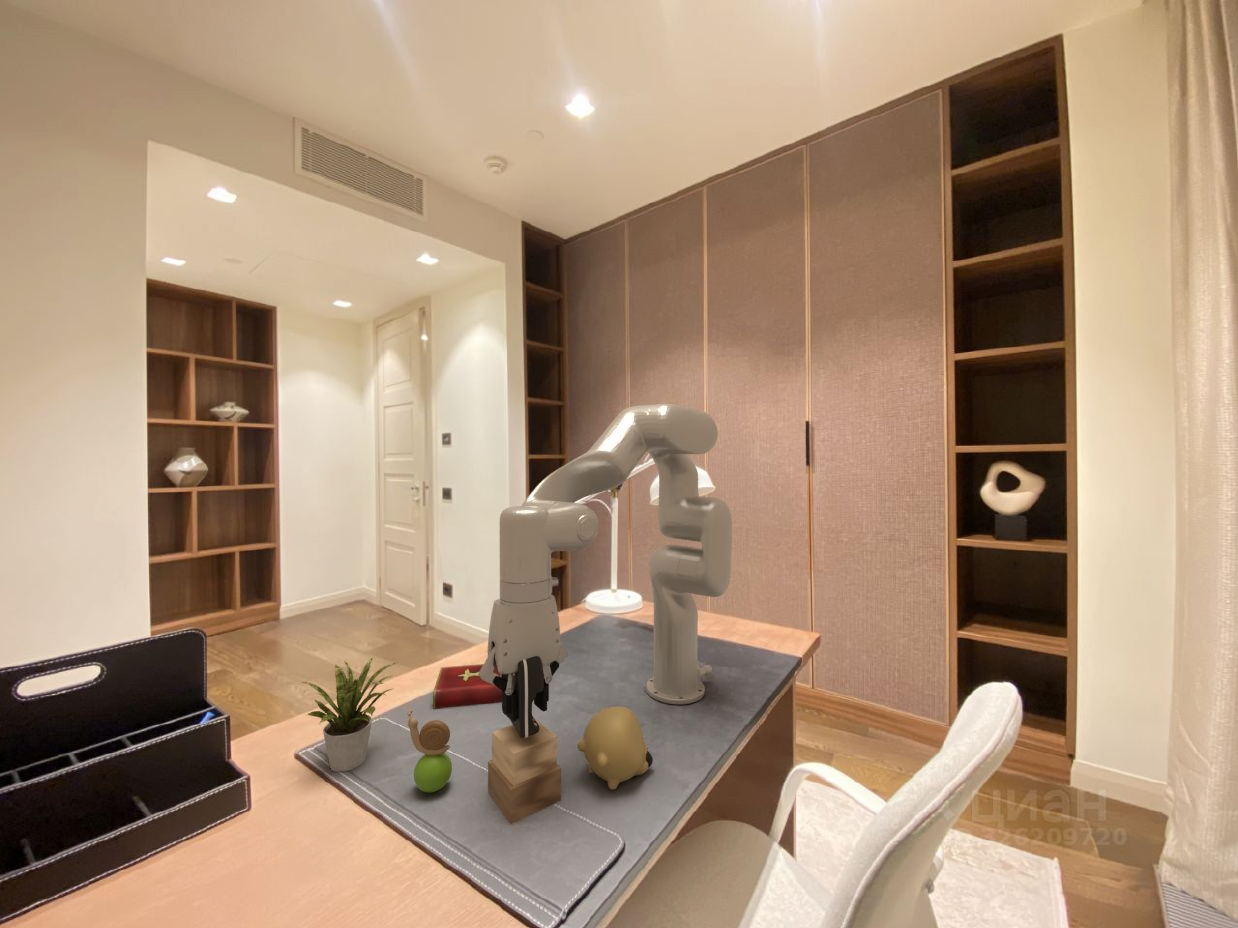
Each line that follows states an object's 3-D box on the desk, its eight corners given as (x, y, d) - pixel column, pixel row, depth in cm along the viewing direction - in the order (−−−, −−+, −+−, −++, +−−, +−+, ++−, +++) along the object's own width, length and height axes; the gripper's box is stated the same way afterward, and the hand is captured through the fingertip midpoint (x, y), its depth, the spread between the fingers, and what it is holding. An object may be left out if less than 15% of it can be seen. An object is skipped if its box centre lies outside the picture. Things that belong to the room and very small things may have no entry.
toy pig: (636, 813, 75) (674, 748, 80) (596, 777, 69) (639, 710, 74) (597, 778, 82) (634, 721, 87) (558, 744, 77) (599, 684, 82)
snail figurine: (413, 778, 77) (414, 702, 77) (455, 776, 78) (455, 700, 78) (401, 802, 72) (401, 720, 72) (446, 799, 72) (446, 718, 72)
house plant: (421, 746, 86) (421, 653, 86) (354, 798, 73) (354, 688, 73) (358, 731, 90) (358, 643, 90) (285, 777, 77) (284, 674, 77)
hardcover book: (538, 700, 103) (538, 681, 103) (433, 711, 99) (433, 690, 99) (535, 676, 115) (535, 658, 115) (441, 684, 110) (441, 666, 110)
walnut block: (535, 773, 79) (535, 742, 79) (561, 801, 72) (561, 767, 72) (487, 793, 74) (488, 760, 74) (510, 825, 68) (510, 789, 68)
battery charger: (546, 734, 71) (545, 655, 71) (520, 741, 69) (520, 661, 69) (532, 712, 77) (531, 640, 77) (508, 718, 76) (507, 644, 75)
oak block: (533, 745, 78) (533, 716, 78) (556, 766, 73) (556, 736, 73) (491, 761, 74) (492, 731, 74) (513, 786, 68) (513, 753, 68)
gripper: (562, 576, 81) (562, 687, 81) (460, 593, 71) (461, 718, 71) (587, 586, 75) (587, 706, 75) (479, 605, 65) (479, 743, 65)
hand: (525, 710), depth 73 cm, fingers closed on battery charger, 4 cm apart
